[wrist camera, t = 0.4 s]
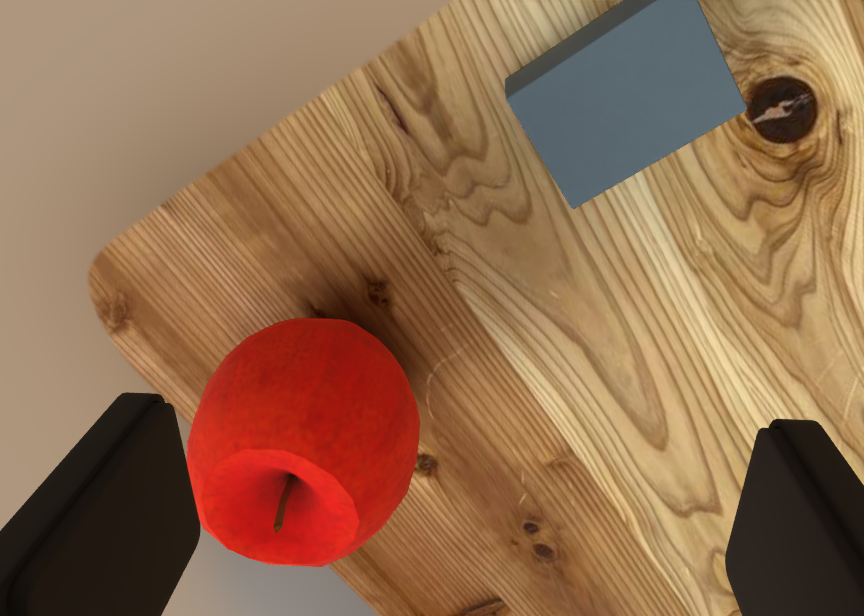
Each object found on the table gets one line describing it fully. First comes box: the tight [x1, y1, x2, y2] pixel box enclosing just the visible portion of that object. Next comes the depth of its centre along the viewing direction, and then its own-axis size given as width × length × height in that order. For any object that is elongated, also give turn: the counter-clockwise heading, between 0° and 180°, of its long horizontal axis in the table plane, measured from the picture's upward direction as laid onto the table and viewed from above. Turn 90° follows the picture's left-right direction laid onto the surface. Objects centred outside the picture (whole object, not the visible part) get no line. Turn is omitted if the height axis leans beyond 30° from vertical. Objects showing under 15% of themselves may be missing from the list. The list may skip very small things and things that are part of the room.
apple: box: [186, 318, 420, 567], centre depth 30 cm, size 10×10×12 cm
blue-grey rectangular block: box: [505, 0, 747, 209], centre depth 26 cm, size 7×5×4 cm
